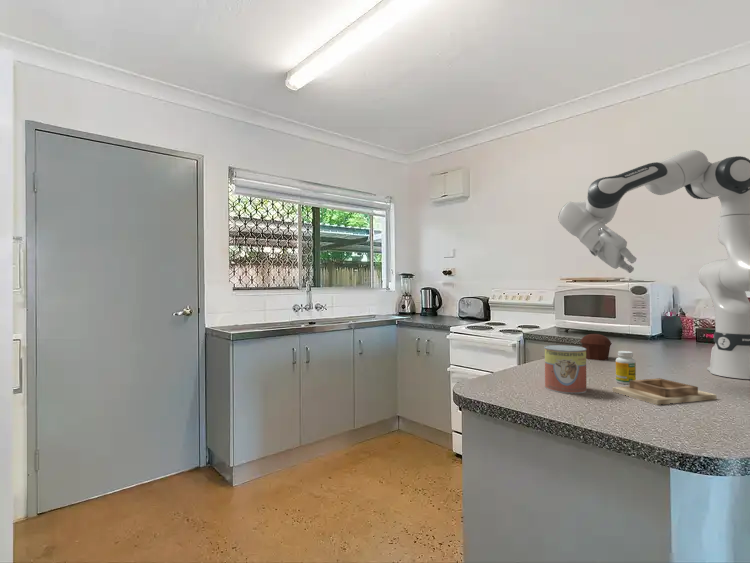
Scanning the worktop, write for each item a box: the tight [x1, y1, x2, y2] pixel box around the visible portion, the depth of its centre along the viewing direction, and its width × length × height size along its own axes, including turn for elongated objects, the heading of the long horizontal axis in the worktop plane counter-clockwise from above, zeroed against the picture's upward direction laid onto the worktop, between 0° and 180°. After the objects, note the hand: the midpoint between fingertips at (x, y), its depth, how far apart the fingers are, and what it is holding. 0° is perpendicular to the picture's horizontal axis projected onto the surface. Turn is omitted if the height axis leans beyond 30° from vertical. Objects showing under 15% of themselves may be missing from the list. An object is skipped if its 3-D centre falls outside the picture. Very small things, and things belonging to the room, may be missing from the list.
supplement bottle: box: [615, 350, 637, 385], centre depth 132 cm, size 5×5×10 cm
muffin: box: [579, 333, 612, 361], centre depth 176 cm, size 12×11×10 cm
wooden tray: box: [611, 377, 718, 406], centre depth 116 cm, size 20×14×3 cm
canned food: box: [543, 344, 588, 394], centre depth 124 cm, size 11×11×12 cm
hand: (633, 266), depth 134 cm, fingers open, 8 cm apart
